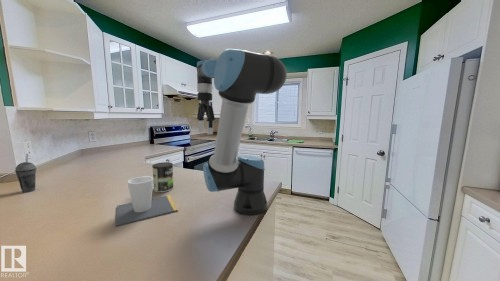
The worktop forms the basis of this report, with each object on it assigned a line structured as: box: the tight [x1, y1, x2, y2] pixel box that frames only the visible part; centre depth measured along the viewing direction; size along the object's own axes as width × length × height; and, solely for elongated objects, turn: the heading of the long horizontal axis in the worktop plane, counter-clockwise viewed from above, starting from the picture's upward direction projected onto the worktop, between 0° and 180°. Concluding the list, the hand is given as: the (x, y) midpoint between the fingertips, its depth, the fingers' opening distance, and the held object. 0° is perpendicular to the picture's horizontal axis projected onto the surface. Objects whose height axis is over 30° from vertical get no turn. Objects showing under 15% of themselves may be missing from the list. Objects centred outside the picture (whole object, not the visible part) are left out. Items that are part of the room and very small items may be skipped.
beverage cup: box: [14, 153, 37, 194], centre depth 99 cm, size 7×7×20 cm
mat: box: [115, 194, 179, 227], centre depth 83 cm, size 18×22×1 cm
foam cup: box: [127, 175, 154, 212], centre depth 81 cm, size 10×9×13 cm
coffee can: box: [152, 161, 175, 193], centre depth 105 cm, size 10×10×14 cm
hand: (205, 133), depth 102 cm, fingers open, 13 cm apart
